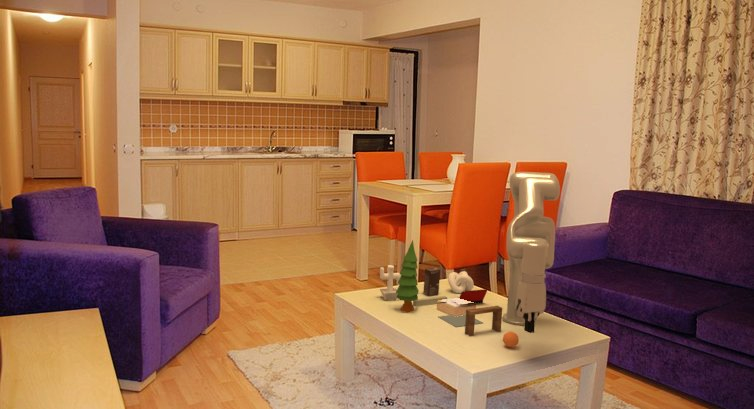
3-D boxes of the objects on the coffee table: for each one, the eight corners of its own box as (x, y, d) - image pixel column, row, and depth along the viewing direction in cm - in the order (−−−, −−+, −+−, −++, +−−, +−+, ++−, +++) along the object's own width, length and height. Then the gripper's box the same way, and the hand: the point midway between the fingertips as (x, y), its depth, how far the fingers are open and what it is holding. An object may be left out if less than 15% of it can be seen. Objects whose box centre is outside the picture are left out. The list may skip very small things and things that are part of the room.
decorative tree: (422, 310, 252) (425, 240, 248) (407, 315, 245) (410, 242, 241) (405, 305, 259) (408, 236, 255) (390, 309, 252) (392, 239, 248)
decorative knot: (457, 296, 275) (458, 277, 274) (440, 289, 285) (441, 271, 284) (476, 293, 281) (477, 274, 280) (459, 286, 291) (460, 268, 290)
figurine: (402, 300, 265) (403, 267, 263) (381, 301, 263) (382, 268, 261) (397, 295, 272) (398, 263, 270) (377, 296, 270) (378, 264, 268)
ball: (511, 343, 218) (512, 328, 217) (521, 348, 213) (522, 333, 212) (499, 345, 215) (500, 330, 215) (509, 350, 211) (510, 335, 210)
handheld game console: (474, 298, 273) (475, 282, 272) (487, 305, 263) (488, 289, 262) (449, 300, 269) (450, 284, 268) (461, 308, 259) (462, 291, 258)
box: (429, 296, 273) (430, 270, 271) (423, 294, 276) (424, 268, 275) (439, 295, 276) (440, 269, 274) (433, 292, 280) (434, 267, 278)
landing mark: (464, 313, 250) (464, 313, 250) (483, 323, 239) (483, 322, 239) (437, 317, 244) (437, 316, 244) (455, 327, 233) (455, 326, 233)
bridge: (464, 333, 226) (466, 309, 225) (496, 328, 233) (497, 305, 232) (469, 336, 224) (470, 312, 223) (500, 331, 230) (502, 307, 229)
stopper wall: (444, 301, 266) (444, 295, 266) (446, 302, 265) (447, 297, 264) (412, 305, 259) (413, 299, 259) (415, 306, 258) (415, 300, 257)
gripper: (542, 274, 209) (538, 325, 211) (507, 277, 202) (504, 330, 204) (557, 279, 202) (553, 332, 204) (522, 282, 196) (519, 337, 198)
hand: (529, 331), depth 204 cm, fingers closed
